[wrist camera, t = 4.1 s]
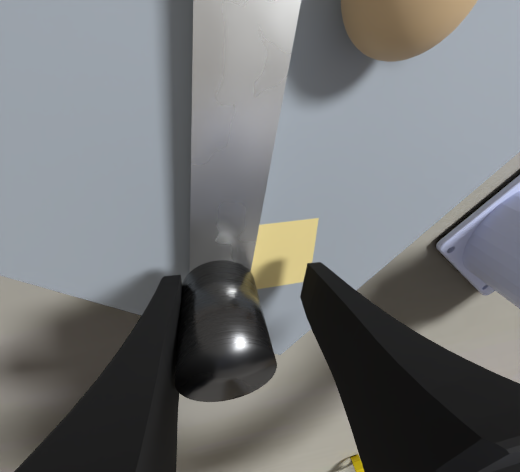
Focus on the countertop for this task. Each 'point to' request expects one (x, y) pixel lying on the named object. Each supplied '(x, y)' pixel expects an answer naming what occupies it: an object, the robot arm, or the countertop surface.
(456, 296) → the countertop surface
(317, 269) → the robot arm
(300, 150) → the base
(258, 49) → the lever
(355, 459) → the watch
